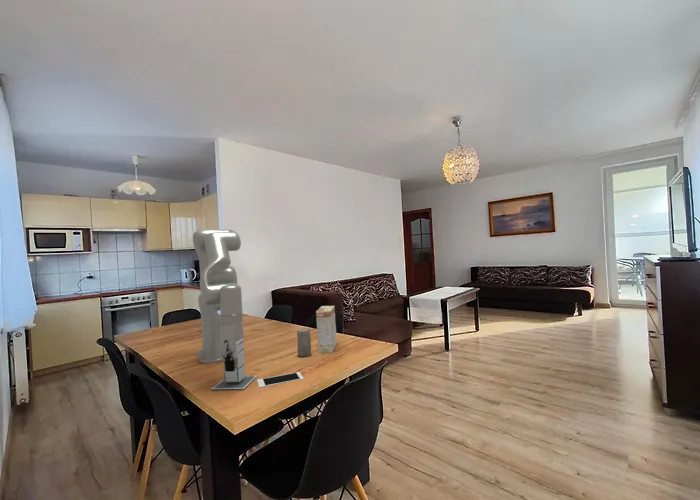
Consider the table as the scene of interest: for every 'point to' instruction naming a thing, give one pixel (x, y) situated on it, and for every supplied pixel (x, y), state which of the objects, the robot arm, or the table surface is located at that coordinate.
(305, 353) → the carving
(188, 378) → the table surface
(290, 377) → the cell phone
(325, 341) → the coffeecake box
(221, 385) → the mat
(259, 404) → the table surface
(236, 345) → the syrup box
